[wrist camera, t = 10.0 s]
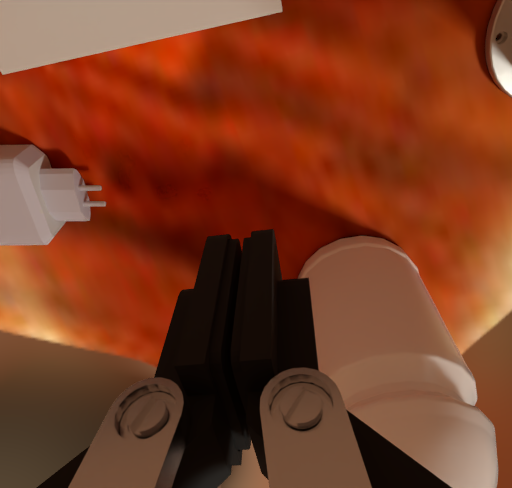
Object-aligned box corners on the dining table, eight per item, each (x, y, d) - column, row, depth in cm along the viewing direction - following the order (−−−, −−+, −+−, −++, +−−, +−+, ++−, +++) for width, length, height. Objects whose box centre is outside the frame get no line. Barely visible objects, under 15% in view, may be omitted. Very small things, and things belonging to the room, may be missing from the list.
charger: (121, 223, 43) (-16, 224, 43) (100, 140, 38) (-55, 142, 38) (107, 248, 39) (-43, 249, 39) (81, 160, 34) (-91, 162, 34)
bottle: (402, 323, 51) (518, 618, 28) (293, 324, 51) (319, 616, 28) (426, 231, 43) (618, 537, 20) (297, 233, 43) (337, 536, 20)
